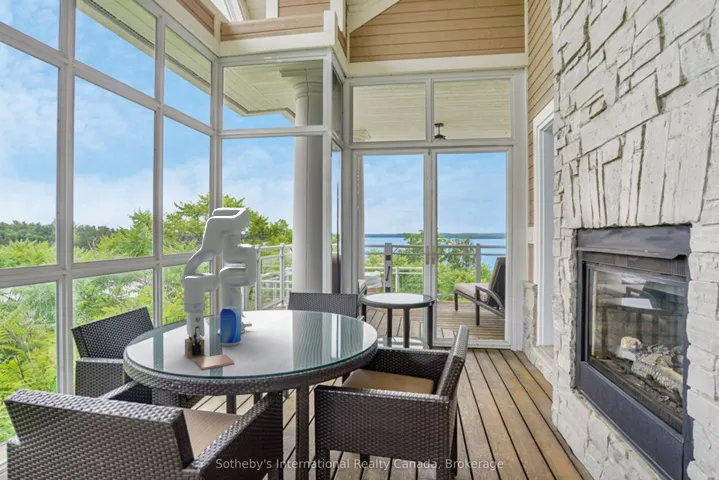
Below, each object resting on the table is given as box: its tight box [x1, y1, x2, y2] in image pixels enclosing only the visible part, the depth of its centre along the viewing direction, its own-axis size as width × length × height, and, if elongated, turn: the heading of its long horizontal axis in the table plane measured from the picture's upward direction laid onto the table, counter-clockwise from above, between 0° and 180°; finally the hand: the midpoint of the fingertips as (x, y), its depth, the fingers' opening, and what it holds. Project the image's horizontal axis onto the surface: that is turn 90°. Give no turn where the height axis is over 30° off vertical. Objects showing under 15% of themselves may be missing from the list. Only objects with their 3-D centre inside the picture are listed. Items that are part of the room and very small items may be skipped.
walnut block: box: [184, 336, 206, 359], centre depth 150 cm, size 6×6×6 cm
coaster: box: [195, 353, 235, 371], centre depth 141 cm, size 11×11×1 cm
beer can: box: [219, 306, 242, 347], centre depth 165 cm, size 8×8×16 cm
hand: (194, 352), depth 150 cm, fingers closed on walnut block, 6 cm apart
